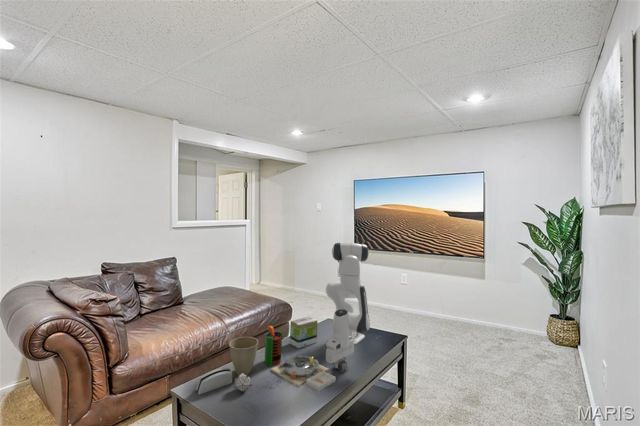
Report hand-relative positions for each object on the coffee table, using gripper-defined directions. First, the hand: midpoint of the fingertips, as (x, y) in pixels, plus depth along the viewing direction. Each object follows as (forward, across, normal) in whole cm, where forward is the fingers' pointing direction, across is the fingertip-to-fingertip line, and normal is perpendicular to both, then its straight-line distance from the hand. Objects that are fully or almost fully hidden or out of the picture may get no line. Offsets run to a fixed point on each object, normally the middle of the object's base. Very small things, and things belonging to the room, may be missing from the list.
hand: (340, 365), depth 179 cm
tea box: (+2, -9, -38) cm, 39 cm away
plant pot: (+2, +39, -34) cm, 52 cm away
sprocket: (0, +17, -14) cm, 22 cm away
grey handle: (+2, +57, -32) cm, 65 cm away
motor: (+2, +21, -32) cm, 38 cm away
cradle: (+2, +18, +2) cm, 18 cm away
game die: (+2, +49, -20) cm, 53 cm away
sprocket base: (+2, +17, -14) cm, 22 cm away
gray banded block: (+2, 0, 0) cm, 2 cm away
